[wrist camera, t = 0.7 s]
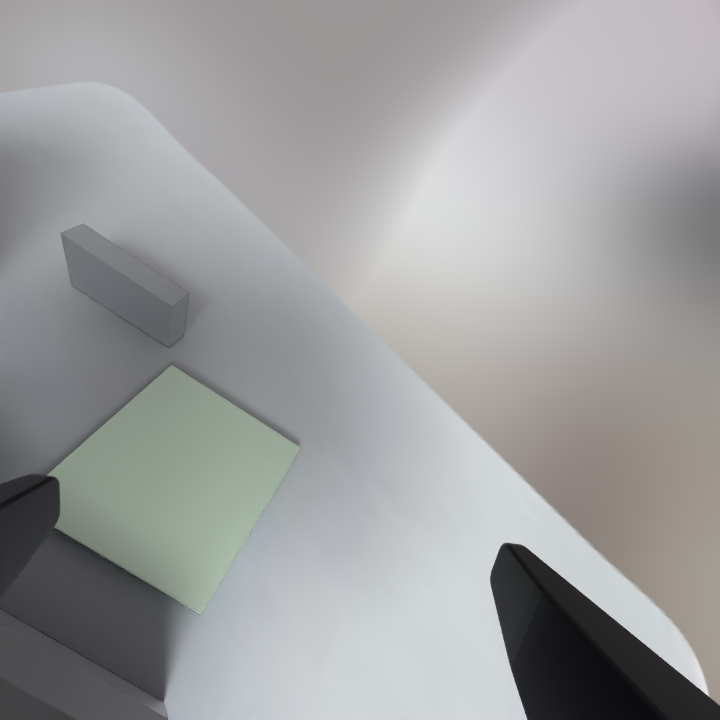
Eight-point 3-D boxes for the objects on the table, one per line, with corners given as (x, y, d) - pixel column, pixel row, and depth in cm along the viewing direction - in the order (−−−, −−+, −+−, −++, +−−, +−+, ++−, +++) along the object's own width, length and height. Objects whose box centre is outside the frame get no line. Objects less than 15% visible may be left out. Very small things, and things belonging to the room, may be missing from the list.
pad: (199, 614, 14) (201, 613, 14) (18, 506, 14) (14, 503, 13) (298, 451, 20) (301, 447, 19) (171, 369, 19) (171, 364, 19)
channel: (-75, 550, 12) (-134, 527, 10) (-243, 453, 12) (-349, 403, 9) (183, 335, 21) (188, 293, 18) (91, 274, 20) (83, 223, 18)
